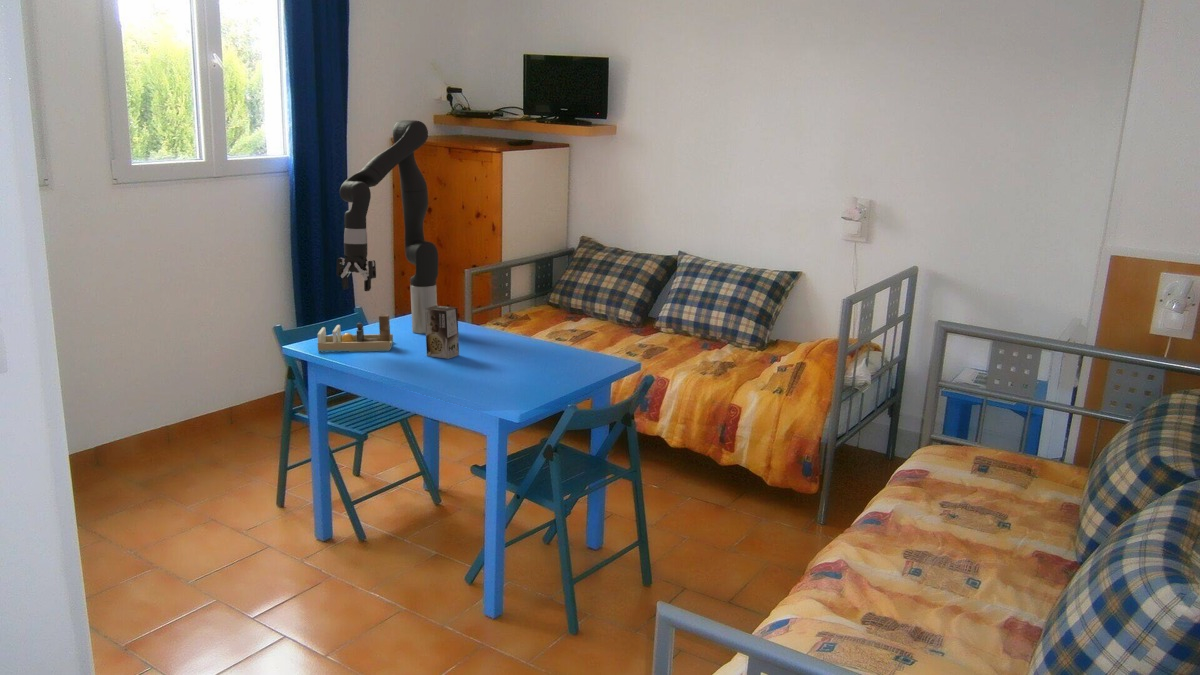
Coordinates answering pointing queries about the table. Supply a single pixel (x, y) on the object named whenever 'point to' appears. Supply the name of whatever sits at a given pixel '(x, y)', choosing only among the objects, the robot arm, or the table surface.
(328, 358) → the table surface
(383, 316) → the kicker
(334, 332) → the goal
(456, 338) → the coffee box
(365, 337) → the tan tray
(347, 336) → the ball
